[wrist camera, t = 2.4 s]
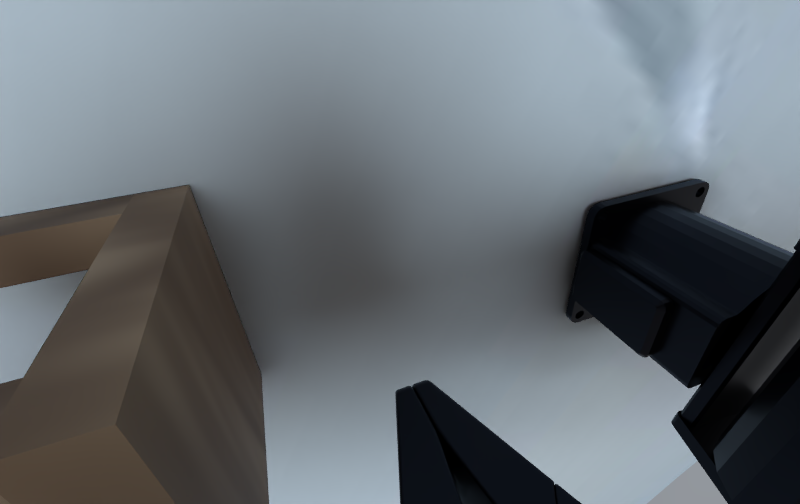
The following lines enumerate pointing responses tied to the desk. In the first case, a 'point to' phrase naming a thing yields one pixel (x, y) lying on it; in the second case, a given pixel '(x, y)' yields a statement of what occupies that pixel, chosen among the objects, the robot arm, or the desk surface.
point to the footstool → (131, 363)
